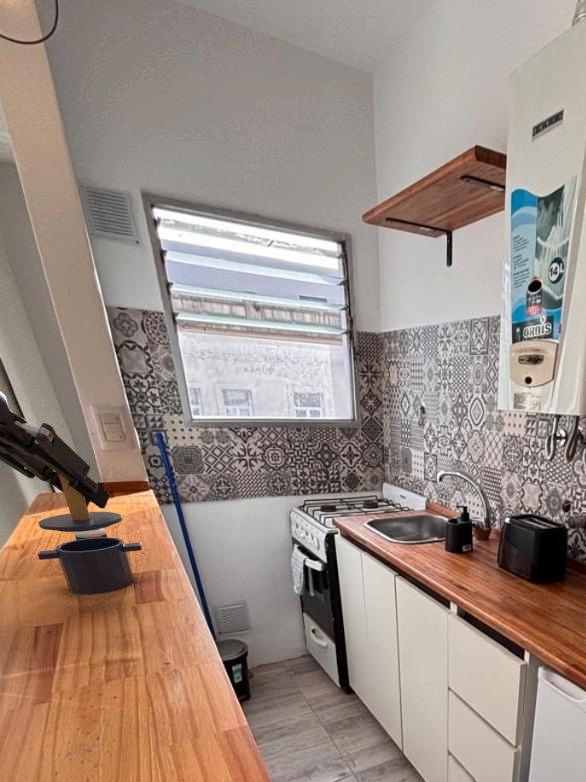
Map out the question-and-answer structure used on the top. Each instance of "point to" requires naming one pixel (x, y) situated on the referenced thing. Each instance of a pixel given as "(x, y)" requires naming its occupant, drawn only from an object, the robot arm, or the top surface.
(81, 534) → the pill bottle
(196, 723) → the top surface
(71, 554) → the pot
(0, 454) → the robot arm
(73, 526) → the lid
